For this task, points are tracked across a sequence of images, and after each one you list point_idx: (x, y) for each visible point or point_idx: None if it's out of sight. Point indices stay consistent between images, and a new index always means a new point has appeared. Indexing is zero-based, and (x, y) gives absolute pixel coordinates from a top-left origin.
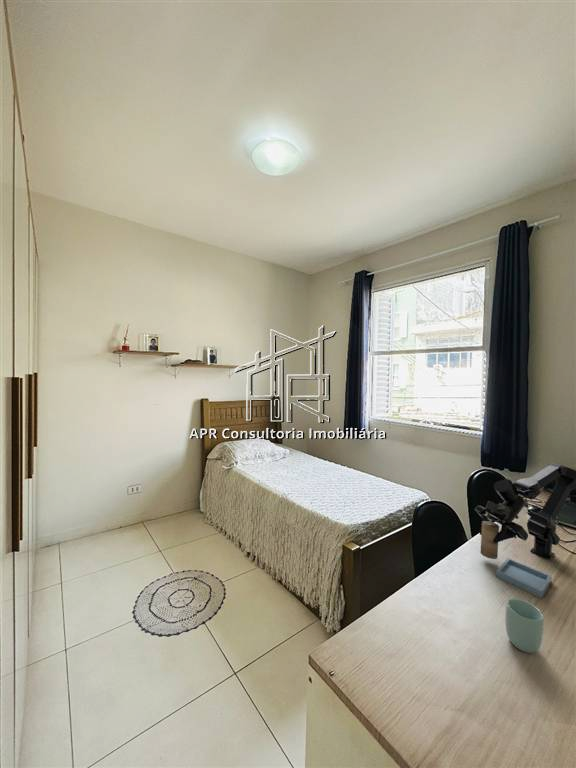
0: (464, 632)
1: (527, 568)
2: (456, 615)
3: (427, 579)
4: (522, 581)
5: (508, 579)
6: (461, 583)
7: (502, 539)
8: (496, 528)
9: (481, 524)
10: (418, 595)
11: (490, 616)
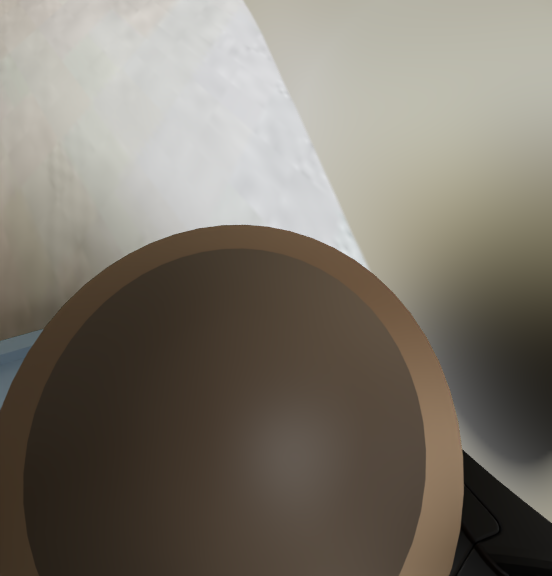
0: (72, 18)
1: None
2: (115, 37)
3: (263, 67)
4: (2, 352)
5: None
6: (198, 140)
7: None
8: (29, 375)
9: (471, 458)
10: (217, 13)
11: (53, 100)
